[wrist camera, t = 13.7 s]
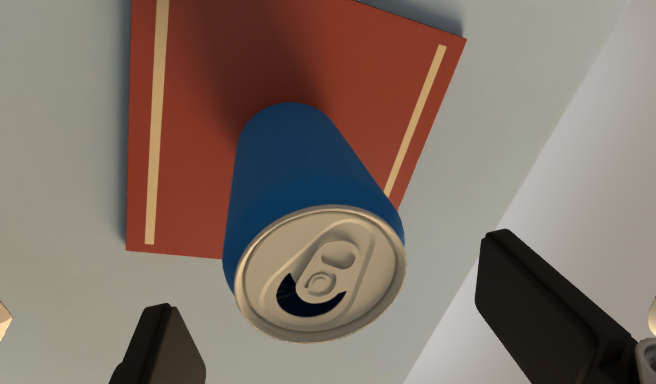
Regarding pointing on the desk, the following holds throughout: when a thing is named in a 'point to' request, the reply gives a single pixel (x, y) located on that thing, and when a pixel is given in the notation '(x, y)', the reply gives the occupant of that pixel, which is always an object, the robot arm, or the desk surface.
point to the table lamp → (4, 320)
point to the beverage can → (308, 230)
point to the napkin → (266, 100)
